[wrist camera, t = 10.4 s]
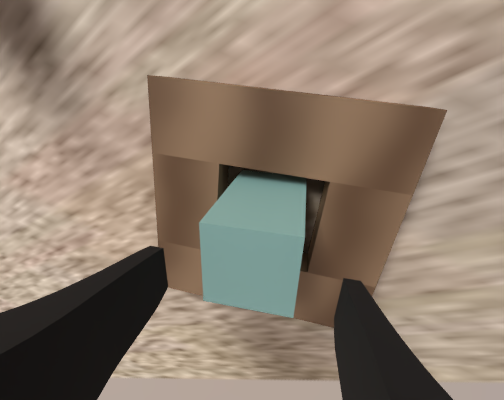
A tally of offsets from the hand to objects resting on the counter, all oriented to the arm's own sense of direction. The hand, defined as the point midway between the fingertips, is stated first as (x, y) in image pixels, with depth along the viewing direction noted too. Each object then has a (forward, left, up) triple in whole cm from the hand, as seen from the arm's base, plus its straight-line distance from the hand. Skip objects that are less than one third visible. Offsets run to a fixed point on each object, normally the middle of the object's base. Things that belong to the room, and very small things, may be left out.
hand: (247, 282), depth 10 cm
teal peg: (0, 0, -7) cm, 7 cm away
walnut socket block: (0, 0, -7) cm, 7 cm away
